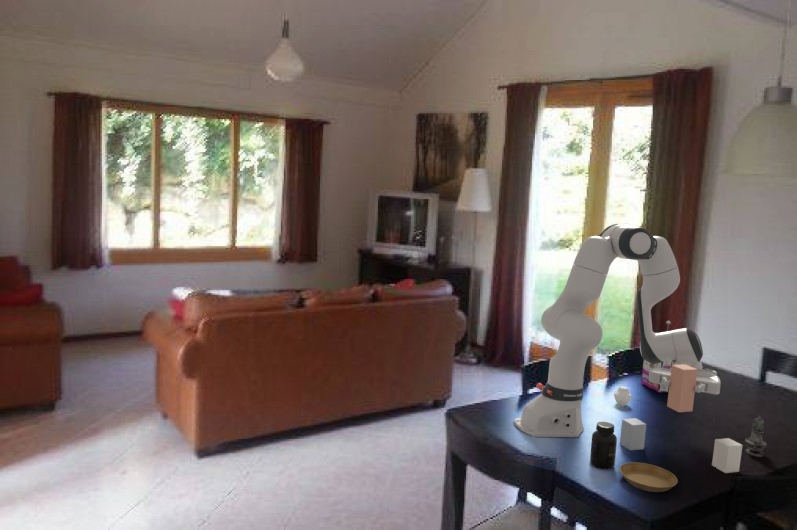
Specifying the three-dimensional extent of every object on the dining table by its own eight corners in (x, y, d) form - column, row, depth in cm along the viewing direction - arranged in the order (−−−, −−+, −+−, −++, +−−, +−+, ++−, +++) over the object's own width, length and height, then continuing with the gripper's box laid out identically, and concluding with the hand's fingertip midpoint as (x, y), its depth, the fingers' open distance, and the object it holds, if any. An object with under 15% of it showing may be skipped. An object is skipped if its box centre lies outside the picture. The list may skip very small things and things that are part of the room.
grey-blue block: (630, 450, 195) (632, 425, 194) (619, 443, 199) (622, 419, 198) (643, 449, 196) (646, 424, 195) (633, 442, 201) (635, 418, 200)
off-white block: (725, 473, 183) (728, 446, 182) (711, 465, 187) (715, 439, 186) (738, 471, 184) (742, 445, 183) (725, 464, 189) (728, 438, 188)
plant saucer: (638, 466, 184) (639, 457, 184) (687, 487, 173) (688, 478, 172) (607, 478, 175) (608, 469, 175) (657, 501, 164) (658, 492, 163)
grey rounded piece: (634, 406, 234) (636, 388, 234) (621, 408, 232) (623, 389, 231) (621, 401, 240) (623, 383, 239) (609, 402, 237) (611, 384, 236)
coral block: (678, 412, 190) (683, 369, 188) (667, 406, 195) (671, 364, 193) (692, 411, 191) (697, 369, 190) (680, 405, 196) (685, 364, 194)
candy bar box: (669, 392, 254) (674, 352, 252) (658, 392, 252) (663, 352, 250) (650, 383, 264) (654, 344, 262) (640, 383, 263) (644, 345, 261)
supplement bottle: (609, 459, 187) (613, 420, 185) (618, 470, 180) (622, 429, 179) (586, 458, 187) (590, 419, 185) (593, 469, 180) (598, 428, 178)
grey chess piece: (768, 458, 195) (773, 420, 193) (747, 455, 196) (752, 418, 194) (761, 450, 200) (766, 413, 199) (741, 447, 202) (746, 411, 200)
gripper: (652, 360, 208) (646, 370, 196) (722, 372, 198) (720, 383, 186) (649, 378, 209) (644, 390, 197) (719, 391, 199) (718, 404, 187)
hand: (682, 387), depth 191 cm, fingers closed on coral block, 7 cm apart
